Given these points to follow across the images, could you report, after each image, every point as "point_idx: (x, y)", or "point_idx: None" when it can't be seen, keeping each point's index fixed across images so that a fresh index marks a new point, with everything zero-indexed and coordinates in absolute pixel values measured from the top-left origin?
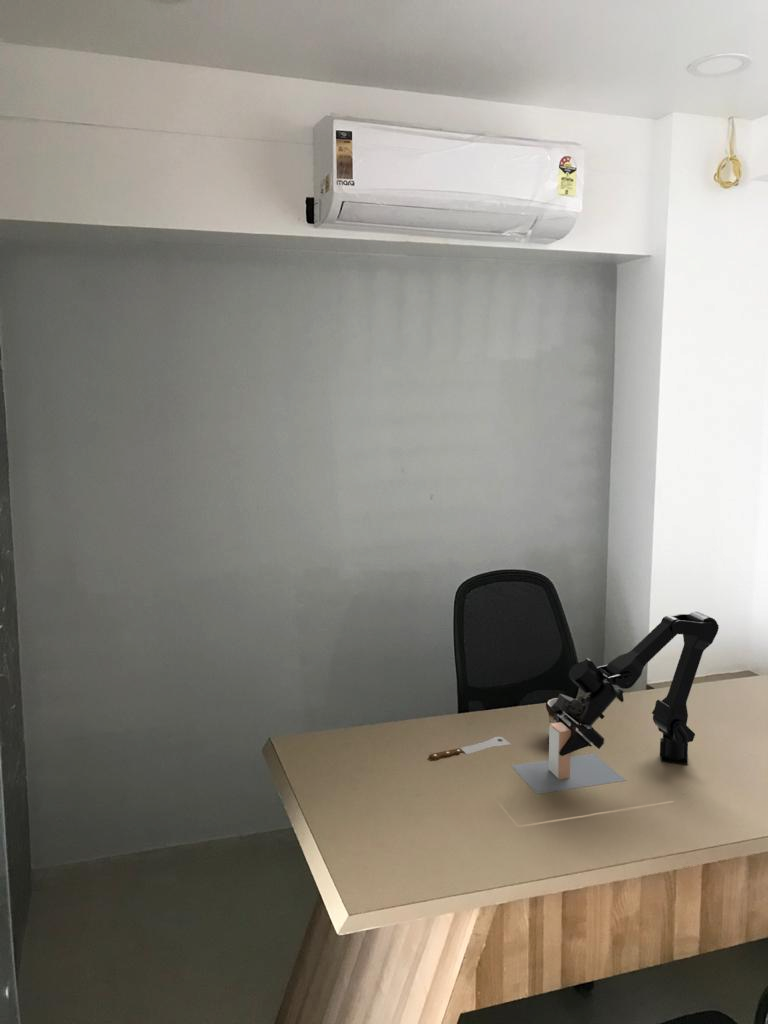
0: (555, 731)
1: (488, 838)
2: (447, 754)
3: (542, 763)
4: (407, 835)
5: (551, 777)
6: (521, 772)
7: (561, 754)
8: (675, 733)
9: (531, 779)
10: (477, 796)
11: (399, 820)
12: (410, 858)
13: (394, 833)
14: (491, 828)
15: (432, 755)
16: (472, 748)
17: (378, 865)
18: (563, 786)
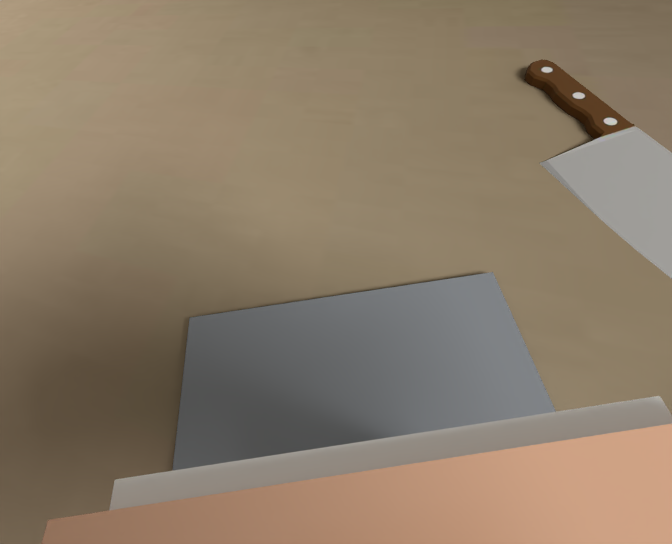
0: (299, 453)
1: (38, 141)
2: (562, 95)
3: None
4: (148, 36)
5: None
6: (412, 302)
7: None
8: None
9: (331, 329)
10: (261, 144)
11: (209, 28)
12: (71, 39)
13: (166, 24)
14: (75, 152)
15: (541, 64)
16: (650, 163)
17: (83, 13)
18: None
